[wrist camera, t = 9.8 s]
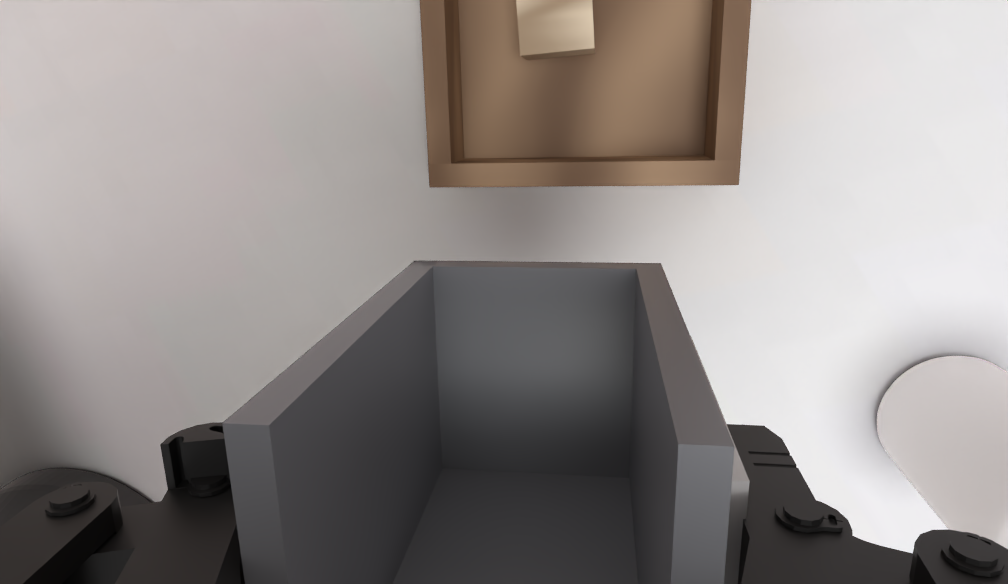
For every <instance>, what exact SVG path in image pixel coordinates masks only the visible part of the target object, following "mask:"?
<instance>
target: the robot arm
mask: <svg viewBox="0 0 1008 584" xmlns="http://www.w3.org/2000/svg"><path fill="white" fill-rule="evenodd" d="M690 337H691V335H690ZM691 340H692V338H691ZM692 342H693V340H692ZM693 345H694V343H693ZM694 347H695V345H694ZM695 350H696V348H695ZM696 352H697V350H696ZM697 355H698V353H697ZM698 357H699V355H698ZM699 360H700V358H699ZM700 362H701V360H700ZM701 365H702V363H701ZM702 367H703V365H702ZM703 369H704V367H703ZM704 372H705V370H704ZM705 374H706V372H705ZM706 377H707V375H706ZM707 379H708V377H707ZM708 382H709V380H708ZM709 384H710V382H709ZM710 387H711V385H710ZM711 389H712V387H711ZM712 392H713V390H712ZM713 394H714V392H713ZM714 397H715V395H714ZM715 399H716V397H715ZM716 402H717V400H716ZM717 404H718V402H717ZM718 407H719V404H718ZM719 409H720V407H719ZM720 412H721V409H720ZM721 414H722V412H721ZM722 417H723V414H722ZM723 419H724V417H723ZM724 422H725V419H724ZM725 424H726V422H725ZM726 427H727V429H728V432H729V434H730V436H731V439H732V441H733V444H734V446H735V448H734V461H733V474H732V486H731V499H730V511H729V524H728V537H727V549H726V562H725V575H724V584H1008V549H1007V548H1005V547H1003V546H1001V545H999V544H998V543H996V542H994V541H992V540H990V539H988V538H985V537H983V536H982V537H980V536H979V535H977V534H973V533H969V532H960V531H955V530H931V531H929V532H926V533H923V534H920V536H919V537H918V539H917V540H916V542H915V545H914V551H913V554H912V553H908V552H903V551H899V550H895V549H891V548H887V547H883V546H879V545H876V544H872V543H869V542H866V541H863V540H861V539H858V538H856V537H854V536H852V529H851V526H850V524H849V522H848V520H847V519H846V518H845V517H844V516H843V515H842V514H841V513H840V512H838V511H837V510H836V509H834V508H832V507H830V506H828V505H826V504H824V503H822V502H819V501H816V500H815V498H814V496H813V494H812V493H811V491H810V489H809V487H808V485H807V484H806V482H805V480H804V478H803V476H802V475H801V473H800V471H799V469H798V468H796V464H795V462H794V460H793V458H792V456H790V453H789V451H788V449H787V447H786V446H785V444H784V442H783V440H782V439H781V438H780V437H779V436H777V435H776V434H774V433H773V432H772V431H770V430H769V429H767V428H766V427H765V426H755V425H731V424H726ZM161 451H162V457H163V462H164V468H165V474H166V480H167V486H168V491H167V492H166V494H165V496H164V498H163V500H162V501H161V502H155V503H150V502H149V501H148V500H147V499H145V498H144V497H143V496H141V495H140V494H138V493H137V492H135V491H134V490H132V489H130V488H129V487H127V486H125V485H123V484H121V483H119V482H117V481H115V480H112V479H110V478H108V477H105V476H102V475H99V474H96V473H92V472H88V471H84V470H77V469H68V468H54V469H45V470H39V471H35V472H32V473H29V474H26V475H24V476H21V477H19V478H17V479H16V480H14V481H12V482H11V483H9V484H8V485H6V486H4V487H3V488H1V489H0V584H245V580H244V573H243V566H242V559H241V552H240V545H239V538H238V531H237V524H236V516H235V509H234V502H233V495H232V488H231V481H230V474H229V467H228V460H227V453H226V446H225V439H224V432H223V425H222V423H209V424H203V425H197V426H194V427H190V428H187V429H184V430H181V431H179V432H177V433H175V434H173V435H171V436H170V437H168V438H167V439H166V440H165V441H164V442H163V443H162V444H161Z"/></svg>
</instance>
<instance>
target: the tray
mask: <svg viewBox="0 0 1008 584" xmlns="http://www.w3.org/2000/svg"><path fill="white" fill-rule="evenodd" d="M592 2H593V22H594V43H595V54H587V55H577V56H567V57H557V58H547V59H537V60H526V59H525V58H523V57H522V56H520V44H519V31H518V18H517V5H516V0H420V13H421V32H422V52H423V71H424V90H425V109H426V128H427V148H428V167H429V186H430V187H532V186H662V185H739V173H740V158H741V143H742V129H743V114H744V100H745V85H746V71H747V56H748V42H749V27H750V12H751V0H592Z"/></svg>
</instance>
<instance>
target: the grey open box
mask: <svg viewBox="0 0 1008 584" xmlns="http://www.w3.org/2000/svg"><path fill="white" fill-rule="evenodd" d="M222 425H223V432H224V439H225V446H226V453H227V460H228V467H229V474H230V481H231V488H232V495H233V502H234V509H235V516H236V524H237V531H238V538H239V545H240V552H241V559H242V566H243V573H244V580H245V584H724V575H725V562H726V549H727V537H728V524H729V511H730V499H731V486H732V474H733V461H734V448H735V446H734V444H733V441H732V439H731V436H730V434H729V432H728V429H727V427H726V424H725V422H724V419H723V417H722V414H721V412H720V409H719V407H718V404H717V402H716V399H715V397H714V394H713V392H712V389H711V387H710V384H709V382H708V379H707V377H706V374H705V372H704V369H703V367H702V365H701V362H700V360H699V357H698V355H697V352H696V350H695V347H694V345H693V342H692V340H691V337H690V335H689V332H688V330H687V327H686V325H685V322H684V320H683V317H682V315H681V312H680V310H679V307H678V305H677V303H676V300H675V298H674V295H673V293H672V290H671V288H670V285H669V283H668V280H667V278H666V275H665V273H664V270H663V268H662V265H661V263H582V262H492V261H414V262H413V263H411V264H410V265H409V266H408V267H407V268H405V269H404V270H403V271H402V272H401V273H400V274H398V275H397V276H396V277H395V278H394V279H392V280H391V281H390V282H389V283H388V284H387V285H385V286H384V287H383V288H382V289H381V290H379V291H378V292H377V293H376V294H375V295H373V296H372V297H371V298H370V299H369V300H368V301H366V302H365V303H364V304H363V305H362V306H360V307H359V308H358V309H357V310H356V311H355V312H353V313H352V314H351V315H350V316H349V317H347V318H346V319H345V320H344V321H343V322H342V323H340V324H339V325H338V326H337V327H336V328H334V329H333V330H332V331H331V332H330V333H328V334H327V335H326V336H325V337H324V338H323V339H321V340H320V341H319V342H318V343H317V344H315V345H314V346H313V347H312V348H311V349H310V350H308V351H307V352H306V353H305V354H304V355H302V356H301V357H300V358H299V359H298V360H297V361H295V362H294V363H293V364H292V365H291V366H289V367H288V368H287V369H286V370H285V371H283V372H282V373H281V374H280V375H279V376H278V377H276V378H275V379H274V380H273V381H272V382H270V383H269V384H268V385H267V386H266V387H265V388H263V389H262V390H261V391H260V392H259V393H257V394H256V395H255V396H254V397H253V398H252V399H250V400H249V401H248V402H247V403H246V404H244V405H243V406H242V407H241V408H240V409H238V410H237V411H236V412H235V413H234V414H233V415H231V416H230V417H229V418H228V419H227V420H225V421H224V422H223V423H222Z"/></svg>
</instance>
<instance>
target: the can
mask: <svg viewBox="0 0 1008 584" xmlns="http://www.w3.org/2000/svg"><path fill="white" fill-rule="evenodd" d="M877 432H878V436H879V439H880V442H881V444H882V446H883V448H884V450H885V451H886V453H887V454H888V455H889V457H890V458H891V459H892V461H893V462H894V463H895V464H896V466H897V467H898V468H899V469H900V471H901V472H902V473H903V474H904V476H905V477H906V478H907V479H908V480H909V482H910V483H911V484H912V485H913V487H914V488H915V489H916V490H917V492H918V493H919V494H920V495H921V496H922V498H923V499H924V500H925V501H926V502H927V504H928V505H929V506H930V507H931V509H932V510H933V511H934V512H935V513H936V515H937V516H938V517H939V518H940V519H941V521H942V522H943V523H944V524H945V526H946V527H947V528H948V529H949V530H955V531H960V532H969V533H973V534H977V535H979V536H980V537H982V536H983V537H985V538H988V539H990V540H992V541H994V542H996V543H998V544H999V545H1001V546H1003V547H1005V548H1007V549H1008V372H1006V371H1005V370H1003V369H1002V368H1000V367H998V366H997V365H995V364H993V363H991V362H989V361H987V360H984V359H980V358H976V357H969V356H945V357H938V358H934V359H930V360H927V361H925V362H922V363H920V364H918V365H916V366H914V367H912V368H910V369H909V370H907V371H906V372H905V373H903V374H902V375H901V376H900V377H898V378H897V379H896V380H895V381H894V382H893V384H892V385H891V386H890V387H889V388H888V390H887V391H886V393H885V395H884V396H883V398H882V401H881V403H880V406H879V409H878V414H877Z"/></svg>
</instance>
